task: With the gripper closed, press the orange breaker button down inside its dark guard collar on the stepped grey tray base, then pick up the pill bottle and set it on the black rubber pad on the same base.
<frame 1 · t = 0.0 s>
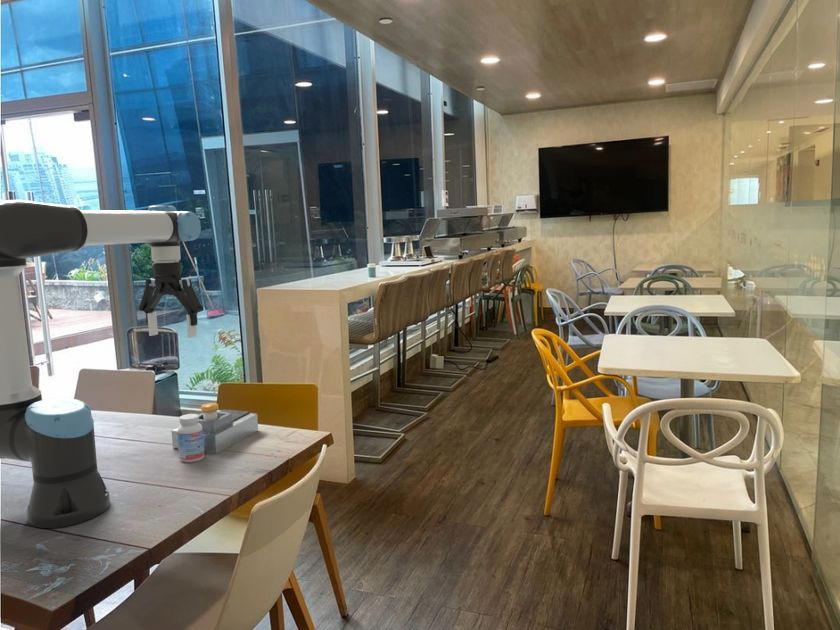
hand: (172, 336, 176), 28 cm above the table, fingers open, 13 cm apart
stepped grey tray base: (217, 439, 172), on the table
pill bottle: (192, 459, 158), on the table
breaker button: (210, 419, 166), point 7 cm above the table, slide at 0.0 cm
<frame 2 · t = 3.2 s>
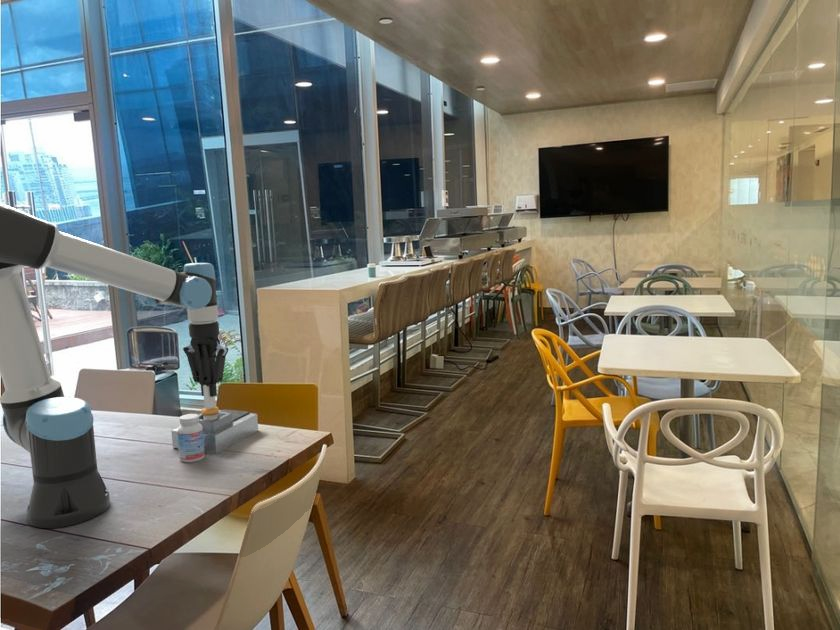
hand: (210, 407, 166), 10 cm above the table, fingers closed
breaker button: (210, 422, 167), point 6 cm above the table, slide at 0.9 cm, touching gripper
everything else where it was.
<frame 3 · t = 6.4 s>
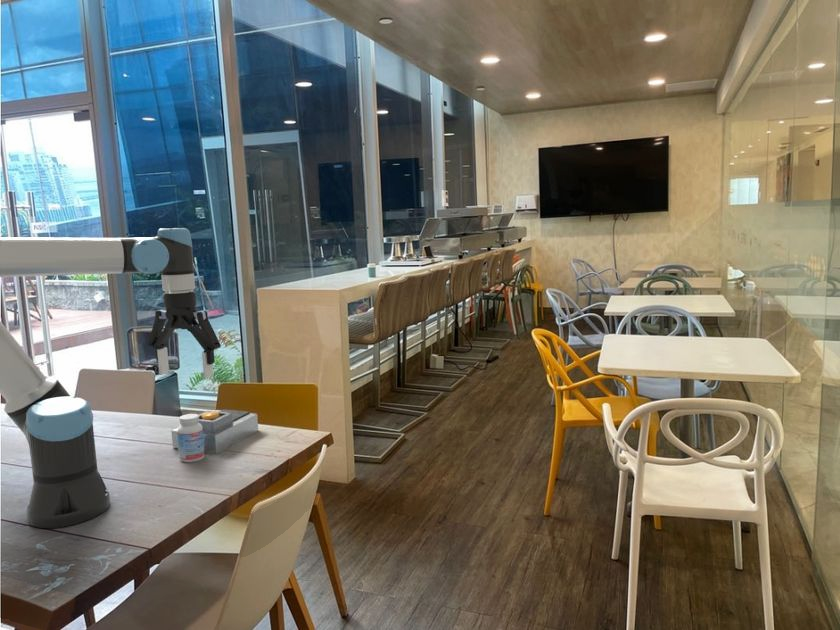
hand: (186, 375, 155), 22 cm above the table, fingers open, 13 cm apart
breaker button: (211, 427, 167), point 5 cm above the table, slide at 2.5 cm
everything else where it was.
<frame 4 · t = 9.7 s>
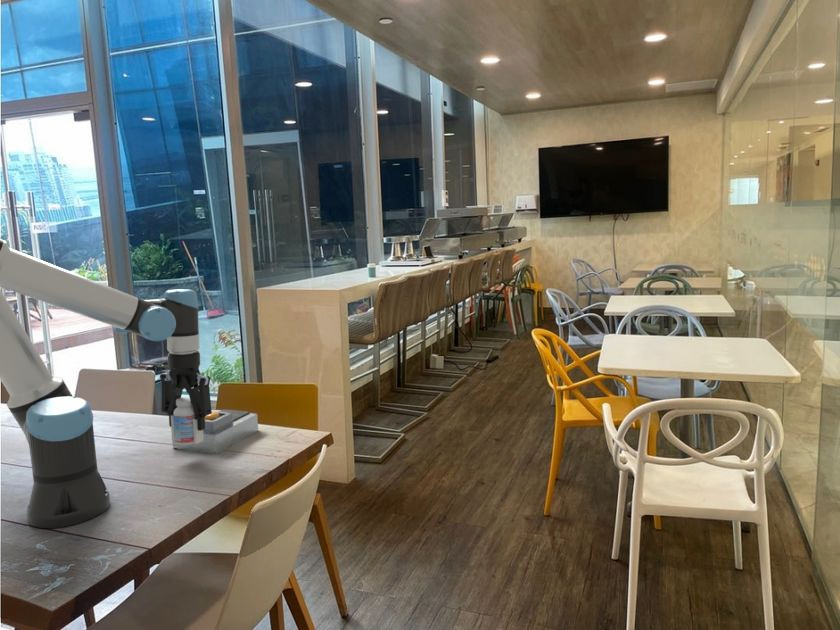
hand: (187, 440, 157), 5 cm above the table, fingers closed on pill bottle, 6 cm apart
pill bottle: (187, 442, 156), point 4 cm above the table, touching gripper
everything else where it was.
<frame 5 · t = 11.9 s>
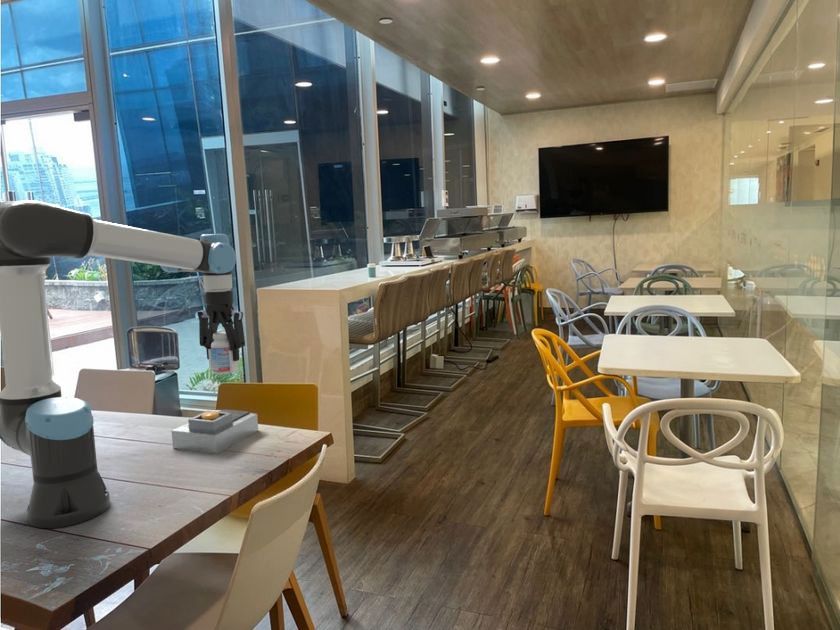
hand: (224, 371, 174), 18 cm above the table, fingers closed on pill bottle, 6 cm apart
pill bottle: (223, 373, 174), point 18 cm above the table, touching gripper
everything else where it was.
when the fingers open (7 cm above the table, at t = 14.2 s): pill bottle stays where it is, resting on stepped grey tray base.
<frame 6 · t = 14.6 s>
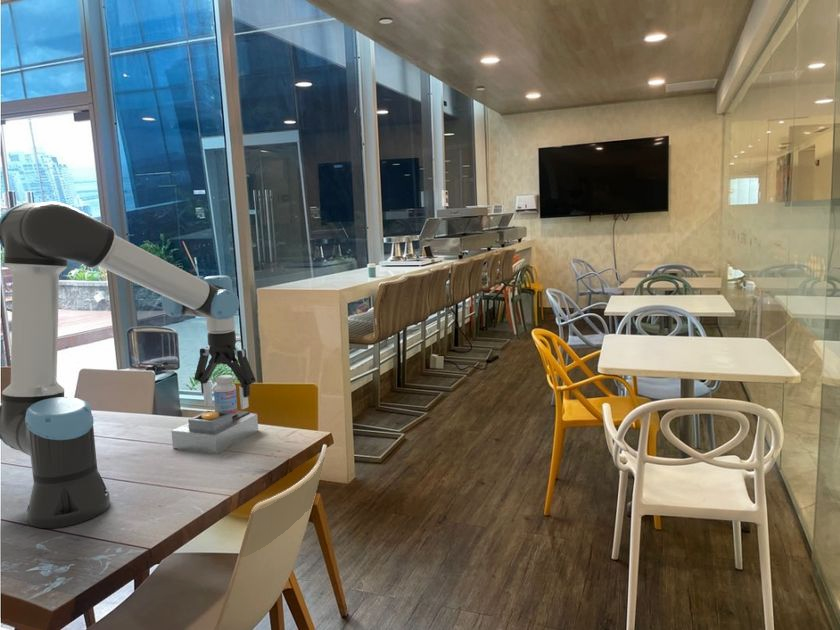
hand: (226, 406, 175), 8 cm above the table, fingers open, 11 cm apart
pill bottle: (226, 415, 175), point 5 cm above the table, touching stepped grey tray base
everything else where it was.
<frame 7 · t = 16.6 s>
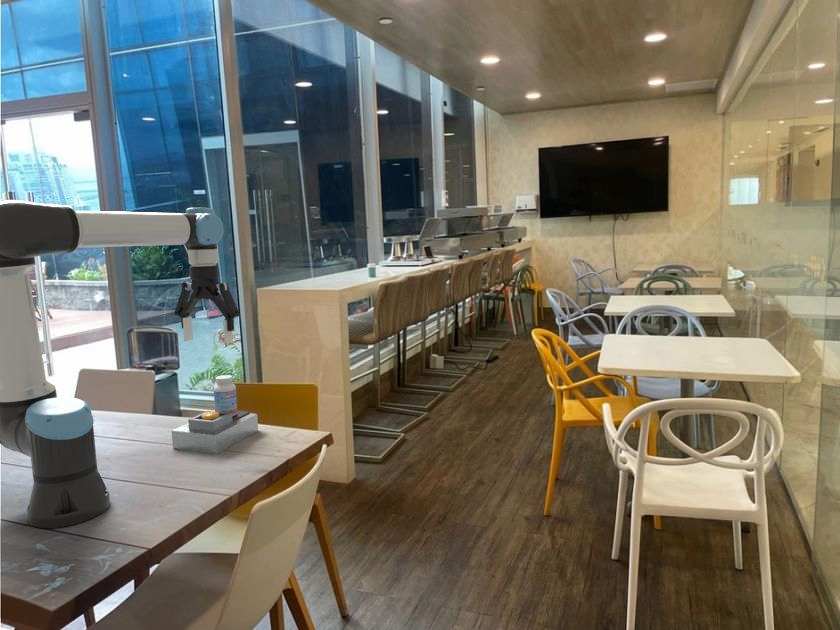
hand: (208, 341, 171), 27 cm above the table, fingers open, 13 cm apart
nothing on the table moved.
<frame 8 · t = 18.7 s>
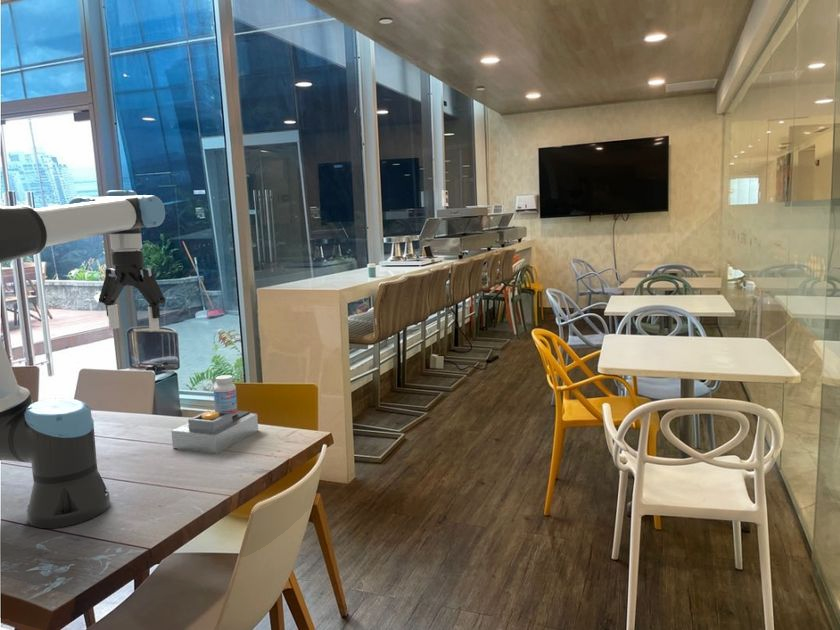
hand: (134, 329, 165), 32 cm above the table, fingers open, 13 cm apart
nothing on the table moved.
at the end: breaker button slide at 2.5 cm; pill bottle inside the target area on the stepped grey tray base (0.2 cm from its centre), point 5.2 cm above the stepped grey tray base's base; pill bottle tilted 0° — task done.
